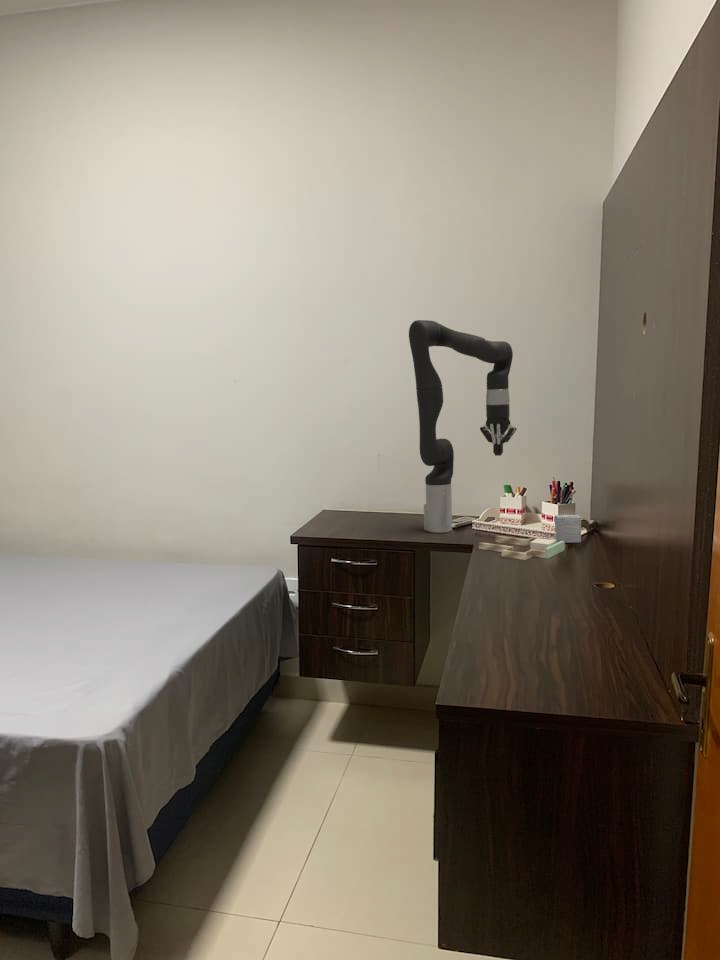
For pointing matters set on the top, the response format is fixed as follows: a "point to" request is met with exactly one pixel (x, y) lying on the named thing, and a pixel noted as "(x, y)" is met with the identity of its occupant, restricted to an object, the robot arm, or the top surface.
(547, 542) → the ivory block
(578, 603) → the top surface
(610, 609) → the top surface
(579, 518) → the medicine box
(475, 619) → the top surface
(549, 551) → the trap track
